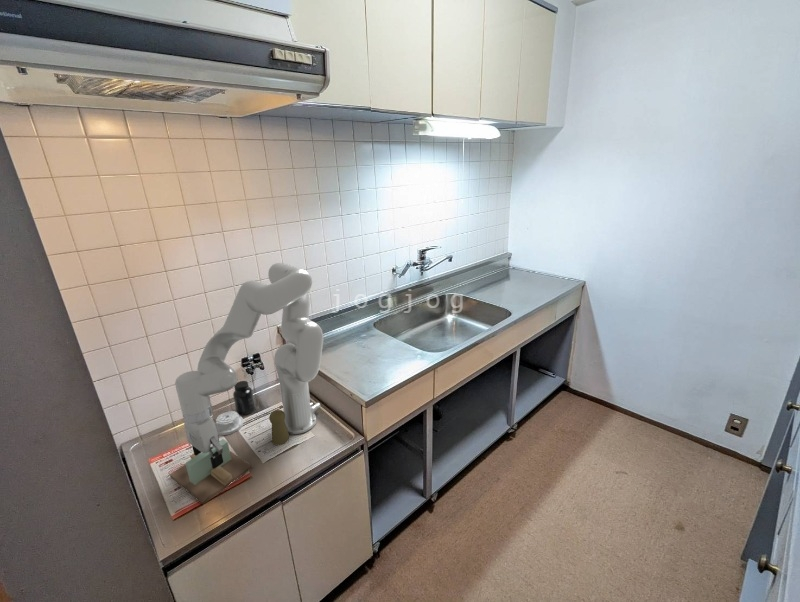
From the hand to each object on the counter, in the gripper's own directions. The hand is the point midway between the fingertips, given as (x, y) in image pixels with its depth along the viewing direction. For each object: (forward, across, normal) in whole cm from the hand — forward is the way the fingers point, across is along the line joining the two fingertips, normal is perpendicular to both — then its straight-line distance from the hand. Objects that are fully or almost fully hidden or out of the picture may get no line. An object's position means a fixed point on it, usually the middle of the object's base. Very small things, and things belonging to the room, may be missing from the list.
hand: (208, 458), depth 113 cm
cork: (+6, +6, +22) cm, 23 cm away
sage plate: (+4, 0, 0) cm, 4 cm away
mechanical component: (+6, -15, +16) cm, 23 cm away
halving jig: (+5, 0, 0) cm, 5 cm away
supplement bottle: (+6, -18, +25) cm, 31 cm away
